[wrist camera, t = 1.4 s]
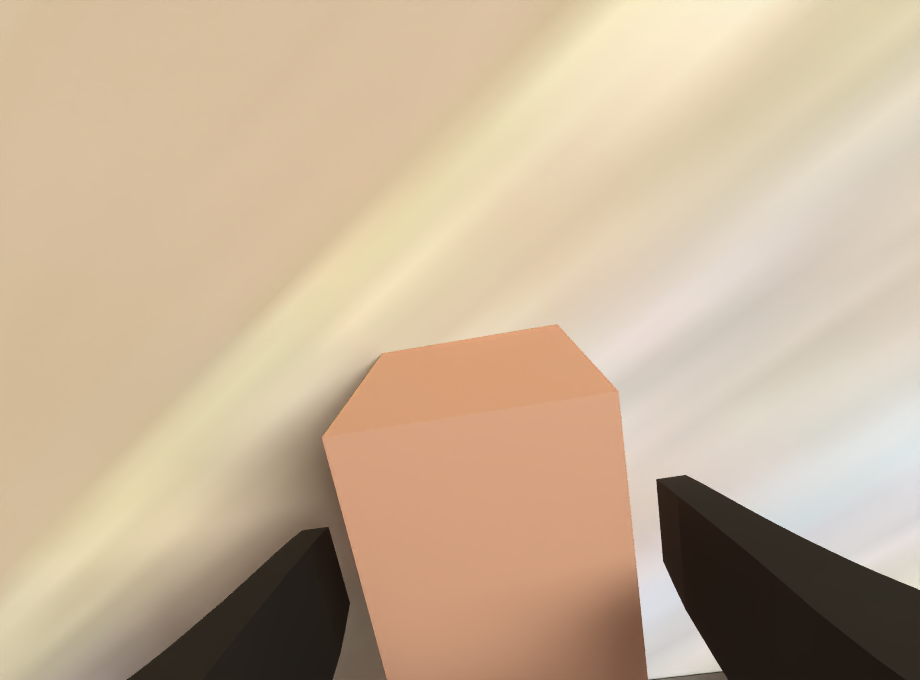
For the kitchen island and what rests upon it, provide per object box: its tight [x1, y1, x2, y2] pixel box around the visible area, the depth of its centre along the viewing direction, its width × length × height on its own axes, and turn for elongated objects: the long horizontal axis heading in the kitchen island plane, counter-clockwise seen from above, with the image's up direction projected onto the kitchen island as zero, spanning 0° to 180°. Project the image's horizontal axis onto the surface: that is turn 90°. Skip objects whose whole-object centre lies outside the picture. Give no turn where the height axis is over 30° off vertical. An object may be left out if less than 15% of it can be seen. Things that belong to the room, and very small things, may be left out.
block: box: [322, 324, 648, 680], centre depth 10 cm, size 4×8×5 cm, turn 10°
